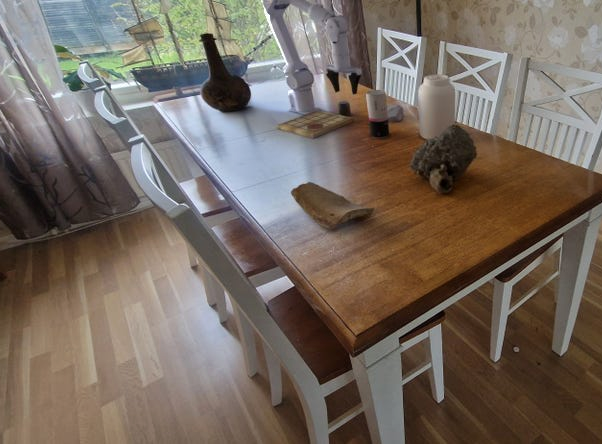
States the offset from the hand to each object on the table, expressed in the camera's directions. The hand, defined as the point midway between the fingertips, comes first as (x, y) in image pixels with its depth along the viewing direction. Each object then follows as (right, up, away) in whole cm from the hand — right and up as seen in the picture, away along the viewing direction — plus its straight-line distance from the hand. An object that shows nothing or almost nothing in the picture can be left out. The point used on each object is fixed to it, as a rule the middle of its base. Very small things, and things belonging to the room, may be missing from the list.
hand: (346, 92), depth 143 cm
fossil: (+11, -47, -52) cm, 71 cm away
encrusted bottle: (+37, -39, -39) cm, 66 cm away
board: (-11, -13, -2) cm, 17 cm away
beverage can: (+15, -19, -10) cm, 26 cm away
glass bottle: (-52, -2, +13) cm, 53 cm away
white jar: (+35, -18, -9) cm, 41 cm away
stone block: (+15, -8, +5) cm, 18 cm away
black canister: (-3, -6, +8) cm, 10 cm away
